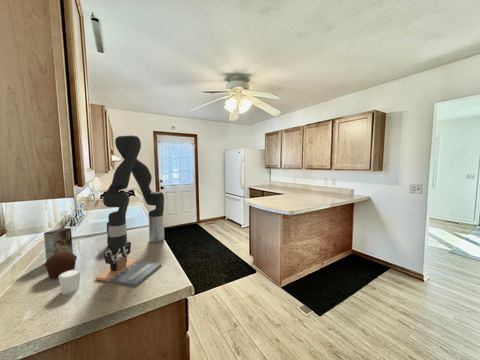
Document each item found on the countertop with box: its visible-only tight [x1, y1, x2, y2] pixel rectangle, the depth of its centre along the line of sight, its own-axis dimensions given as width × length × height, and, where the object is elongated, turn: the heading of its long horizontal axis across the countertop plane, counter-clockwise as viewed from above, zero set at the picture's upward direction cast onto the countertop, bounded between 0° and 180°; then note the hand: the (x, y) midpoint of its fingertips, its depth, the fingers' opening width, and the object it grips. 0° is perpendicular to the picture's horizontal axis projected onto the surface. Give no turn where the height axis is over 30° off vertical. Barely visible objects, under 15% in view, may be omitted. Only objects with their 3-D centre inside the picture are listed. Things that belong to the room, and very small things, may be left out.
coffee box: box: [43, 227, 74, 262], centre depth 107 cm, size 9×6×16 cm
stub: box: [95, 255, 140, 283], centre depth 96 cm, size 18×8×6 cm, turn 167°
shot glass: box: [58, 268, 81, 295], centre depth 82 cm, size 7×7×7 cm
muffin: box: [43, 252, 77, 280], centre depth 93 cm, size 12×11×10 cm
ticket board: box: [109, 260, 162, 288], centre depth 94 cm, size 18×13×1 cm
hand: (118, 267), depth 97 cm, fingers open, 5 cm apart
